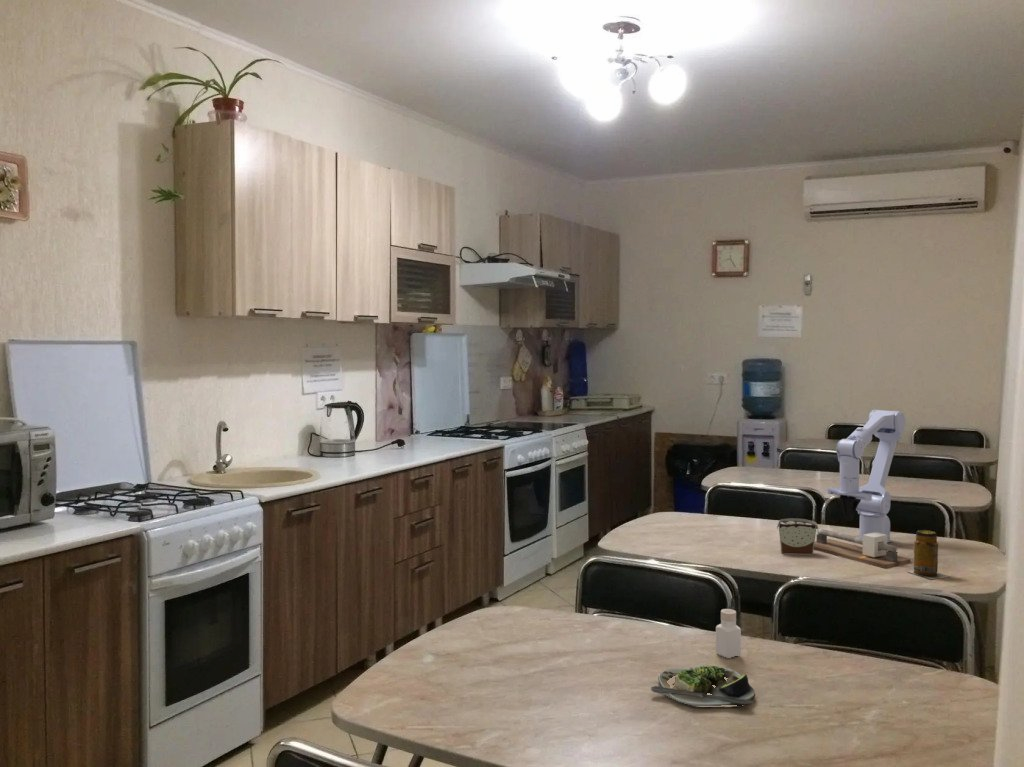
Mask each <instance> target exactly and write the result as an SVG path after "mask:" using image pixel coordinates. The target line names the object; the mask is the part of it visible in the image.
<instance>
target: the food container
mask: <svg viewBox="0 0 1024 767" xmlns="http://www.w3.org/2000/svg"><path fill="white" fill-rule="evenodd" d="M776 525H777V526H776V529H778V532H779V533H778V534H779V542H780V554H781V555H799V556H800V555H806V556H808V555H810V556H813V555H814V551H815V550H814V542H815V541H816V540H815V539H816V535H817V534H816V533H817V530H818V529H819V527H818V523H817V522H816V521H813V520H809V519H805V518H782V519H779V520H778V522H777V524H776Z"/></svg>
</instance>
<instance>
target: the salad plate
mask: <svg viewBox="0 0 1024 767" xmlns="http://www.w3.org/2000/svg"><path fill="white" fill-rule="evenodd" d="M673 676H676V677H675V683H674V685H675V686H674V687H673V688H670V685H669V684H668V683H667V681H668V680H669V679H670V678H672V677H673ZM724 677H726V678H728V679H727V681H726V680H725V679H724ZM657 679H658V681H659V684H661V685H660V686H659V685H658V686H656V685H655V686H654V685H653V686H651V688H650V690H651V691H652V692H653V693H656V694H659V695H663V696H665V695H666V696H665V697H667V696H668V697H667V698H669V697H671V698H673V699H674V700H673V699H672V700H673V701H675V700H676V702H677V701H678V703H680V702H681V703H680V704H682V703H684V704H683V705H685V704H688V705H687V706H689V705H692V706H721V705H737V706H741V707H743V706H742V705H745V706H747V705H752V704H754V701H753V700H754V698H755V697H756V692H755V689H754V688H753V687H752V686H751V685H750V684H749V683H750V682H749V678H748V675H747V674H746V673H744V674H740V673H739V672H738V671H736V670H734V669H732V668H728V667H724V666H719V665H708V664H707V665H703V666H701V665H700V666H697V667H682V668H681V667H680V668H667V669H665V670H663V671H662V672H661V673H659V675H658V676H657ZM712 685H715V686H716V687H715V688H714V687H713V686H712ZM661 686H662V687H661ZM707 693H710V694H712V695H707ZM692 706H691V707H692Z"/></svg>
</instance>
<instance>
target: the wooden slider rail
mask: <svg viewBox="0 0 1024 767" xmlns="http://www.w3.org/2000/svg"><path fill="white" fill-rule="evenodd" d="M816 533H817V534H816V540H815V542H814V550H813V551H818V552H821V553H825V554H829V555H833V556H838V557H841V558H845V559H848V560H852V561H855V562H856V561H857V562H860V563H863V564H867V565H871V566H875V567H879V568H881V569H882V568H883V569H888V568H891V567H897V566H900V565H901V566H902V565H906V564H909V563H911V558H908V557H904V556H899V555H898V551H897V550H898V548H897V546H896V545H892V544H891V545H890V544H888V543H887V544H883V543H879V542H878V549H882V550H886V555H883V556H878V557H871V556H867V555H863V539H862V538H859V537H858V536H853V535H849V534H845V533H841V532H840V533H839V532H836V531H831V530H828V529H823V528H819V527H818V529H816ZM828 537H830V538H828ZM831 538H835V539H831ZM836 539H838V540H836ZM839 540H840V541H839ZM841 540H842V541H841ZM843 541H847V542H843ZM848 542H851V543H854V544H851V543H848ZM855 544H858V545H860V546H858V545H855ZM861 545H862V546H861Z"/></svg>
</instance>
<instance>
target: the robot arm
mask: <svg viewBox="0 0 1024 767" xmlns="http://www.w3.org/2000/svg"><path fill="white" fill-rule="evenodd" d="M905 426H906V417H905V414H904V412H903V411H902V410H882V409H876V408H875V409H872V410H871V411H870V412H869V414H868V421H867V422H866V423H865V424H864V425H863V427H860V426H859V427H857V428H856V429H855V430H854V431H852V433H851V434H850V435H849V436H847V438H841V439H840V440H839V441H838V442H837V443H836V448H835V452H836V455H837V461H838V462H839V487H831V486H830V487H827V494H828V495H834V496H839V497H837V502H838V503H839V505H840V507H841V510H842V513H843V516H844V520H845V521H848V522H851V521H854V520H853V519H854V515H855V512H857V514H858V515H859V537H858V538H862V539H863V535H864V534H869V533H874V532H877V533H881V534H886V535H887V543H891V542H893V539H891V520H890V518H889V516H888V515H887V514H888V513H889V512H890V510H891V500H892V495H891V494H890V492H889V491H888V490H887V489H886V488H885V487H886V482H887V480H888V475H889V472H890V469H891V464H892V461H893V458H894V454H895V450H896V448H897V446H896V445H897V443H898V440H900V439H902V437H903V434H904V431H905ZM873 435H874V436H875V437H876V438H878V439H879V443H878V446H877V450H876V452H875V453H876V454H875V457H874V460H873V464H872V468H871V472H870V475H869V478H868V483H866V484H864V485H861V486H860V458H862V457H863V456H864V451H865V449H866V447H868V446H867V445H869V444H870V443H871V442H872V440H873Z"/></svg>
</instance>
